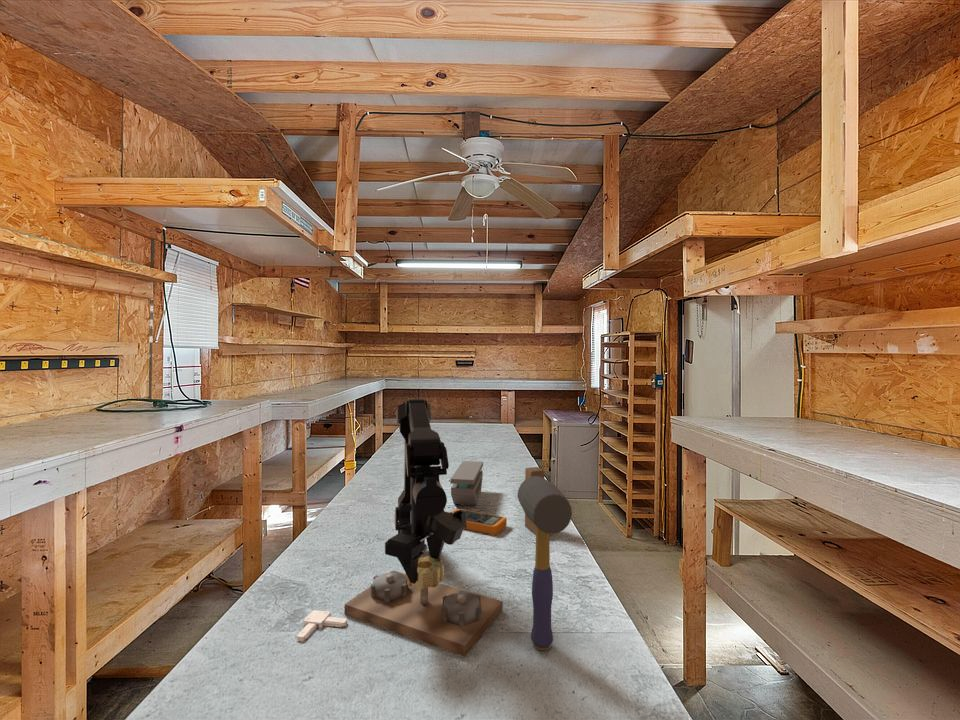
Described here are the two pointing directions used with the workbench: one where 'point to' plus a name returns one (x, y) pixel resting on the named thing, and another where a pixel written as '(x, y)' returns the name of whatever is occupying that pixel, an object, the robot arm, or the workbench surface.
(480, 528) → the multimeter
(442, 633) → the gear board
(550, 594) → the rubber mallet
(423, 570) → the brass gear
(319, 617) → the corner connector
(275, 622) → the workbench surface
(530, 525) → the wooden block
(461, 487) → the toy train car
